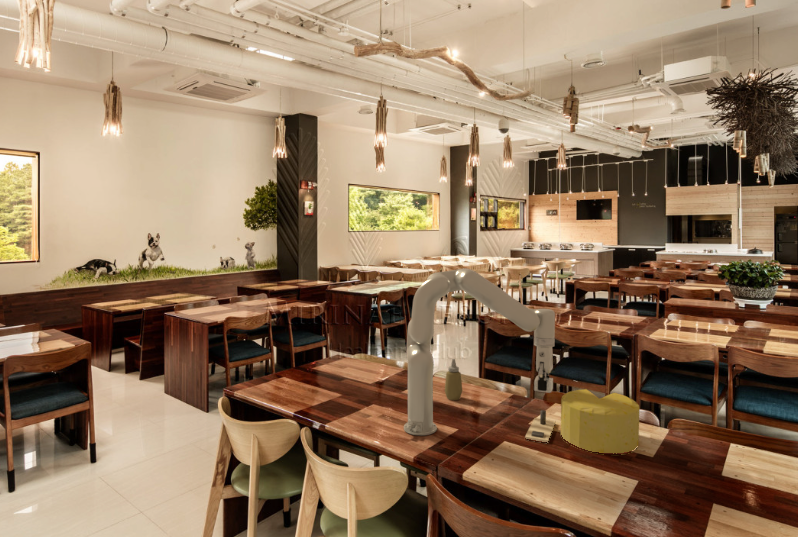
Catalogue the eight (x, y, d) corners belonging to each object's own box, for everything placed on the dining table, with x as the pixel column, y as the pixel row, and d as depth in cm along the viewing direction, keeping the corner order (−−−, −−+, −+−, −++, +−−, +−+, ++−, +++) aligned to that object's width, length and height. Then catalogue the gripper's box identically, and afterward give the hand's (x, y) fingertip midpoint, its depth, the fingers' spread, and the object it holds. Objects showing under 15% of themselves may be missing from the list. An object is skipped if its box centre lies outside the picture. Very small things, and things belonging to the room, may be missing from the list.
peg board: (547, 443, 172) (548, 426, 172) (524, 439, 176) (525, 422, 175) (555, 424, 190) (555, 408, 190) (534, 420, 194) (534, 405, 193)
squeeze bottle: (463, 401, 217) (463, 361, 215) (445, 401, 217) (445, 361, 216) (461, 395, 225) (461, 357, 224) (443, 395, 225) (444, 357, 224)
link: (550, 392, 183) (550, 382, 182) (534, 390, 185) (534, 380, 185) (552, 388, 188) (552, 378, 188) (536, 386, 191) (537, 376, 190)
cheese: (599, 421, 193) (600, 384, 192) (655, 447, 169) (657, 405, 168) (545, 431, 184) (546, 392, 183) (596, 460, 160) (597, 415, 159)
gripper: (551, 347, 176) (550, 395, 177) (557, 338, 192) (556, 383, 193) (530, 345, 179) (529, 393, 180) (537, 336, 195) (537, 380, 196)
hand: (543, 387), depth 187 cm, fingers closed on link, 6 cm apart
